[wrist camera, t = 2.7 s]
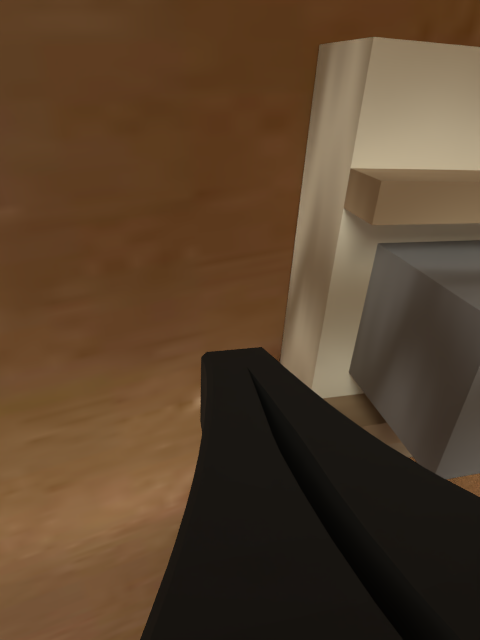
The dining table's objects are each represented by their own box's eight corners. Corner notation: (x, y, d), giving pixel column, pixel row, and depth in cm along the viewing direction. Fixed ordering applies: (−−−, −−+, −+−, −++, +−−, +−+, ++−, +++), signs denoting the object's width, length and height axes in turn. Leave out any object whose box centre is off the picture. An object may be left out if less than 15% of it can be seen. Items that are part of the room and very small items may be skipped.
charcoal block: (462, 360, 15) (576, 455, 11) (348, 372, 14) (431, 481, 10) (509, 239, 13) (669, 307, 9) (378, 243, 12) (497, 322, 8)
